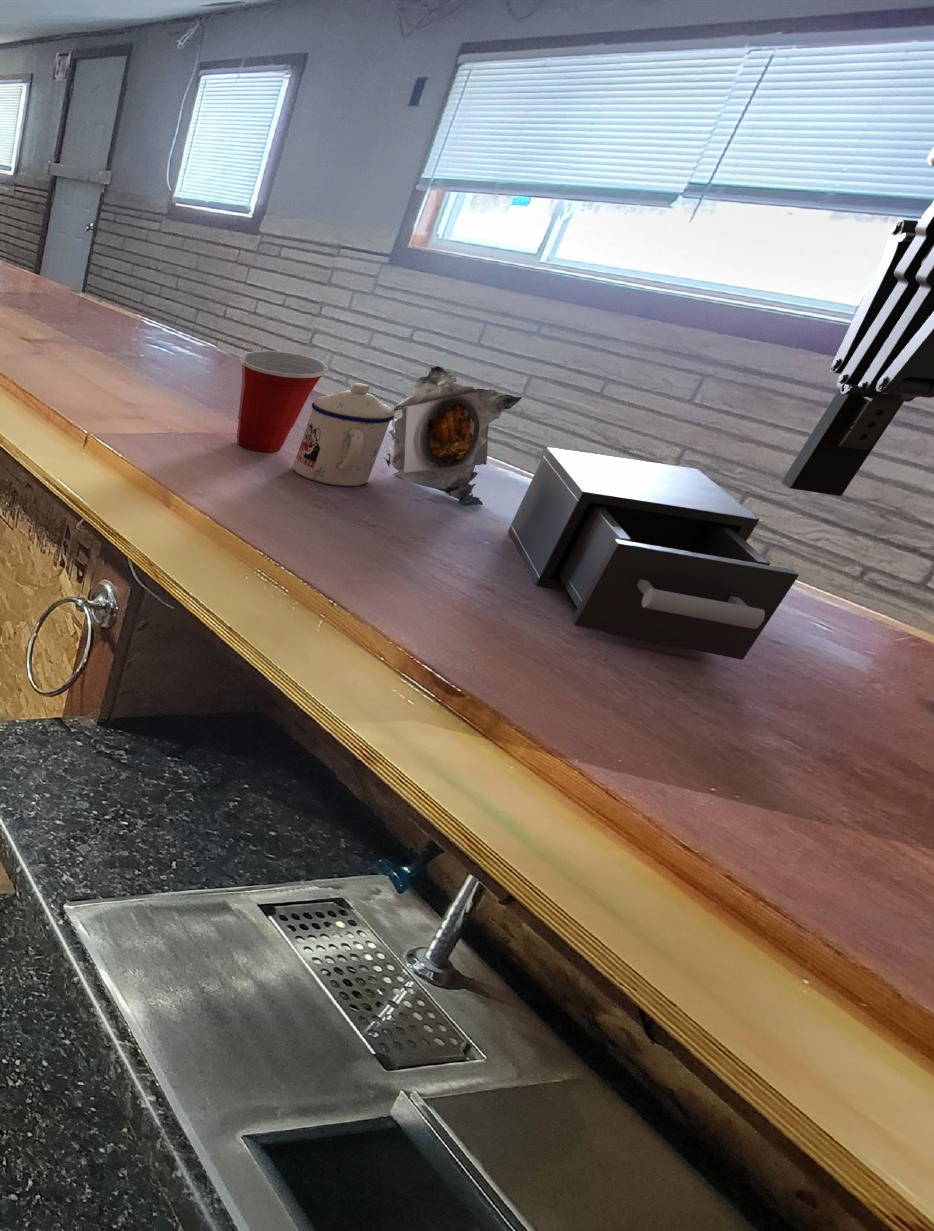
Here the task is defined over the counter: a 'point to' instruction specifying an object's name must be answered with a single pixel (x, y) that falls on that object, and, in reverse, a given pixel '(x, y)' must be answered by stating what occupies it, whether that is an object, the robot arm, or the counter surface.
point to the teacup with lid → (343, 437)
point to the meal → (444, 433)
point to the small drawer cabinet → (609, 502)
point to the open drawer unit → (670, 580)
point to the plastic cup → (273, 396)
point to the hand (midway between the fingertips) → (810, 488)
